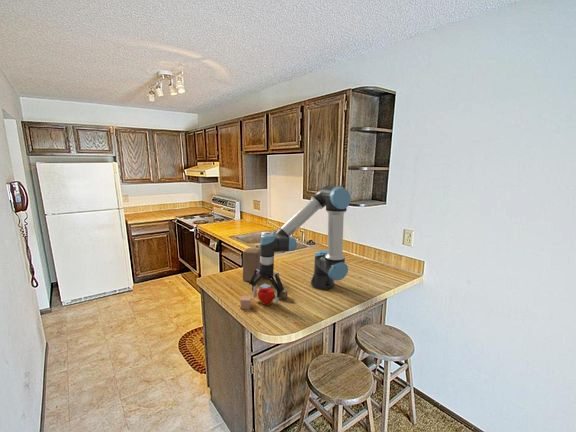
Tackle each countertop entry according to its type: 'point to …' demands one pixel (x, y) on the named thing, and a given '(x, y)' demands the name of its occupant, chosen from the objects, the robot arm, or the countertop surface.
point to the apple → (266, 295)
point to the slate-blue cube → (264, 286)
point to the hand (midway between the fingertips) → (265, 299)
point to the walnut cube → (283, 294)
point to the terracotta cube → (246, 302)
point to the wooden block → (251, 263)
